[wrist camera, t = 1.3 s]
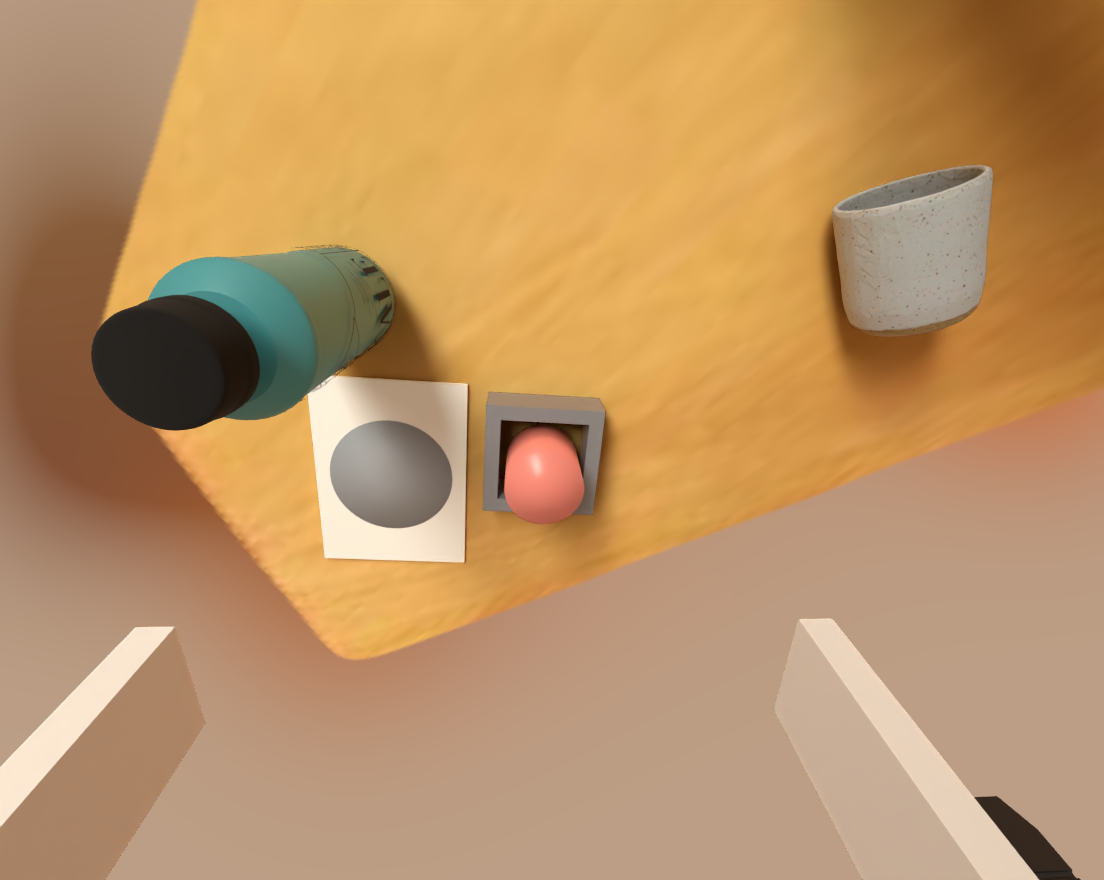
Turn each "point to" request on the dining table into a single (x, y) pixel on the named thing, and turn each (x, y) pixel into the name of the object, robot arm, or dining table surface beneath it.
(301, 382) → the beverage bottle
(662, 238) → the dining table surface
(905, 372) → the dining table surface
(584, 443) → the button base
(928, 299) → the ceramic mug
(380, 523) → the paper card
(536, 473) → the button
